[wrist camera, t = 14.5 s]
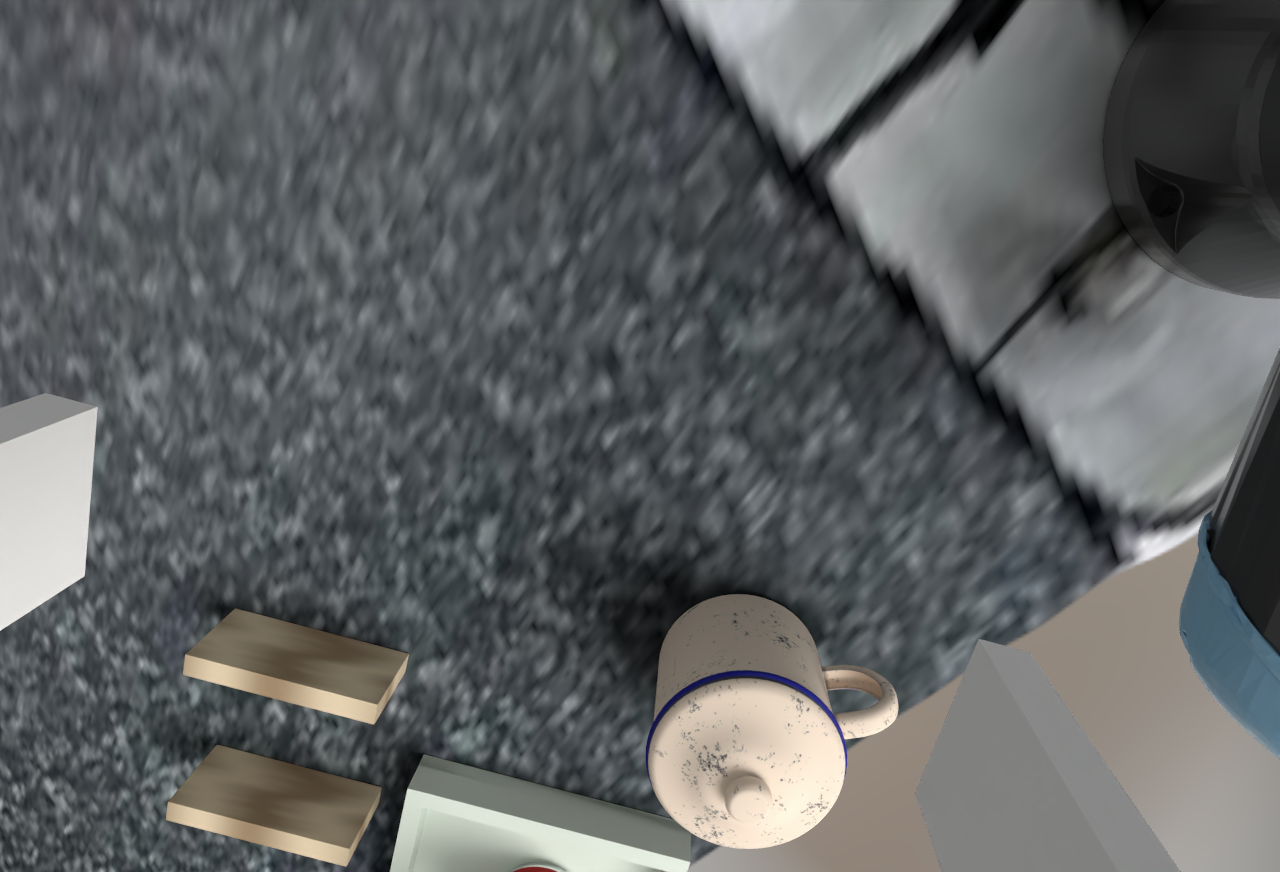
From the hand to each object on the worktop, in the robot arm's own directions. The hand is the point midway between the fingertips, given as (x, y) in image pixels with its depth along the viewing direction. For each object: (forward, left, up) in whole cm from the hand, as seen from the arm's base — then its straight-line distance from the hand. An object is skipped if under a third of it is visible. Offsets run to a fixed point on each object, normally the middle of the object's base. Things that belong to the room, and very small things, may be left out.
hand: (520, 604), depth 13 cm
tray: (-2, +35, -32) cm, 47 cm away
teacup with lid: (-11, +17, -32) cm, 38 cm away
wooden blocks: (+13, +28, -32) cm, 44 cm away
